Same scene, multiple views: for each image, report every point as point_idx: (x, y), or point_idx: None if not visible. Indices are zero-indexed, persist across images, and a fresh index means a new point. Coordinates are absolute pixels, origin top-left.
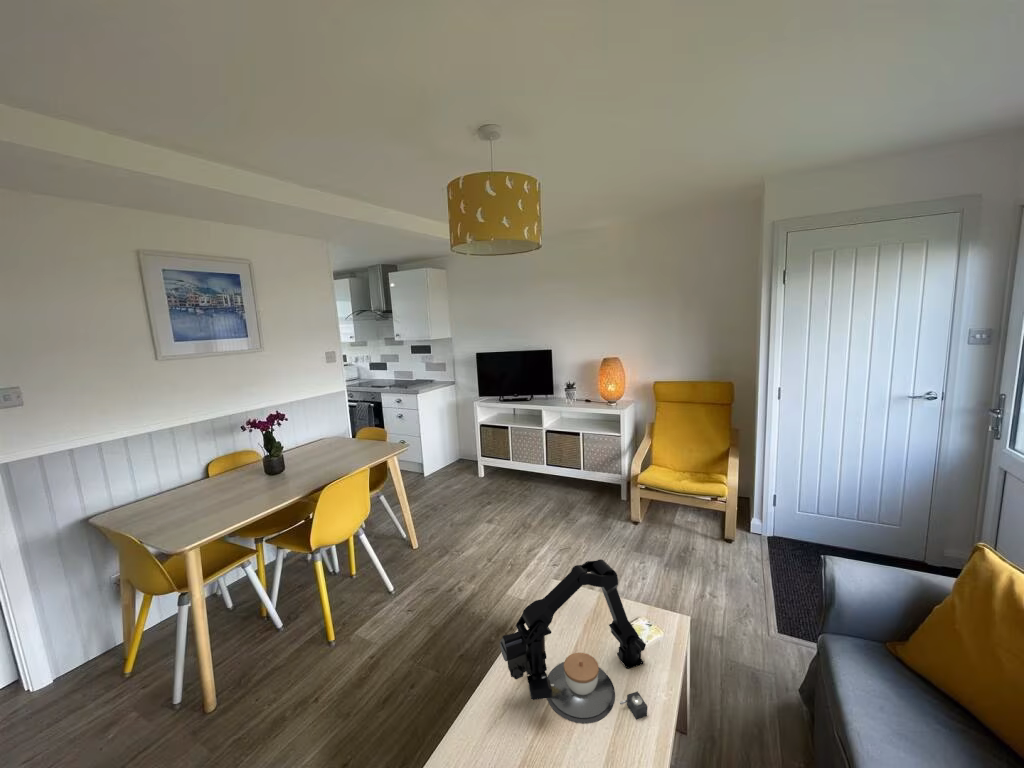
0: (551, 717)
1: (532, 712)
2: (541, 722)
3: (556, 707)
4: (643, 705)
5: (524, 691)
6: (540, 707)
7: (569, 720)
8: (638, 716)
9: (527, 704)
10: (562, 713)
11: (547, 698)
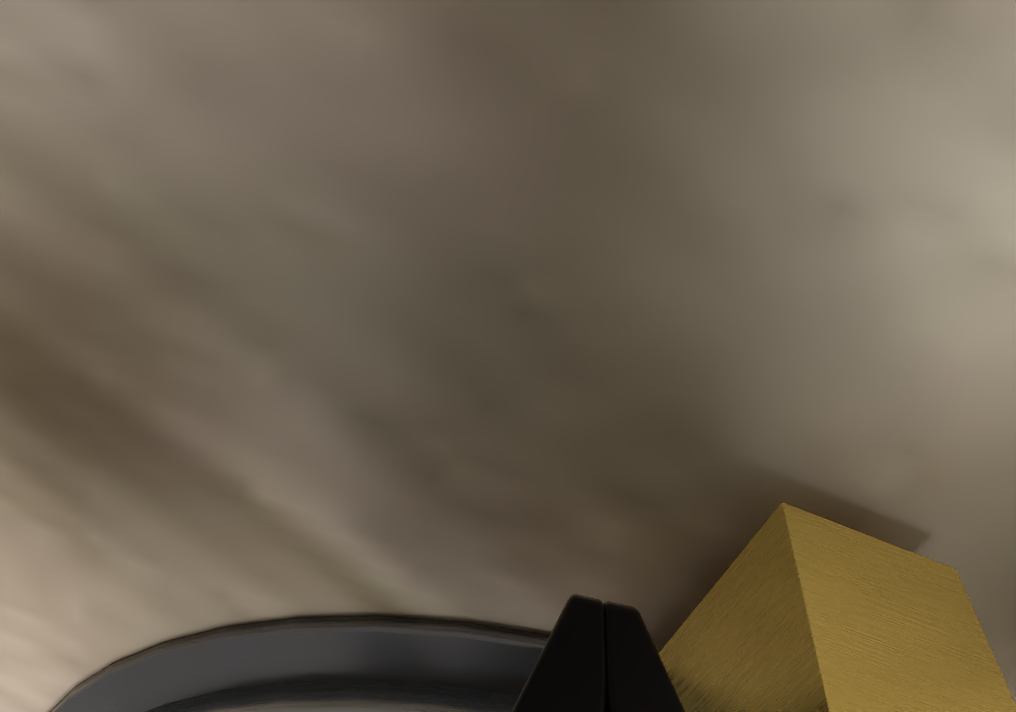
0: (124, 549)
1: (265, 305)
2: (29, 379)
3: (243, 689)
4: None
5: (880, 340)
6: (347, 479)
7: (57, 706)
8: None
9: (494, 277)
10: (151, 696)
11: (469, 647)
